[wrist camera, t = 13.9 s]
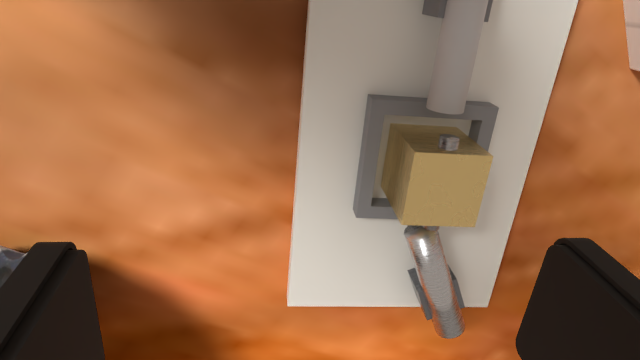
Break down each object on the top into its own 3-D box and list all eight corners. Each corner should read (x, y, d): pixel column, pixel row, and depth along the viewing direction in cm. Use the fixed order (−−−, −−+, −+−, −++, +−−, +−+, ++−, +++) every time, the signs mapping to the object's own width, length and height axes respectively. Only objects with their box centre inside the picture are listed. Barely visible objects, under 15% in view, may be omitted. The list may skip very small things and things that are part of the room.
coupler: (392, 113, 32) (416, 141, 27) (458, 117, 33) (496, 145, 27) (379, 194, 35) (399, 234, 29) (441, 196, 35) (472, 236, 30)
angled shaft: (389, 217, 36) (403, 246, 32) (427, 203, 35) (446, 230, 32) (420, 309, 40) (436, 344, 36) (454, 296, 39) (474, 330, 36)
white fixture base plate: (313, -75, 28) (323, -87, 23) (577, -45, 30) (640, -50, 25) (286, 294, 39) (289, 342, 34) (480, 296, 42) (510, 341, 37)
